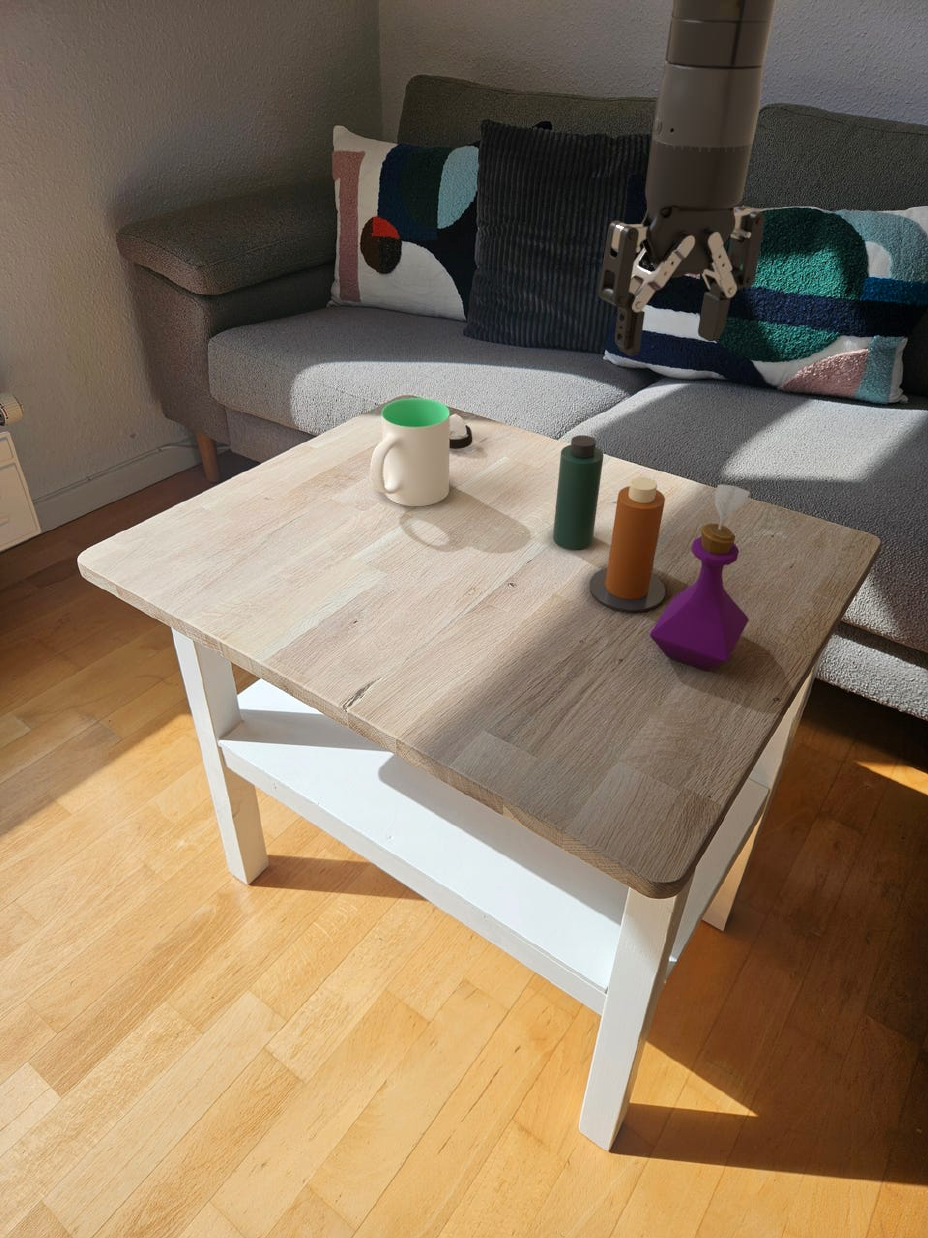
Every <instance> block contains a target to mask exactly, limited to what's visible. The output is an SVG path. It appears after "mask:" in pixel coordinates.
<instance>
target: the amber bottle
mask: <svg viewBox="0 0 928 1238" xmlns="http://www.w3.org/2000/svg"><path fill="white" fill-rule="evenodd" d="M657 488H658V483H657V482H656V480H654V479H652V478H649V477H645V476H637V477H634V478H632V479H631V480H630V482H629V485H627V486H625V487H623V488H621V489H620V490H619V491H618V495H617V499H616V505H615V506H616V507H615V513H614V521H613V527H612V535H611V539H610V546H609V547H610V548H609V555H608V561H607V567H608V568H607V567H606V568H607V575H606V582H605V586H606V589H607V590H608V591H609V592H610V593H611V594H612V595H614V596H616V597H619V598H623V599H638V598H641V597H643V596H645V595H646V594H647V592H648V590H649V585H650V579H651V574H653V567H654V562H655V556H656V551H657V546H658V540H659V535H660V531H661V524H662V518H663V513H664V508H665V503H666V498H665V495H664V494H663V493H662V492H661V491H660V490H658V489H657Z"/></svg>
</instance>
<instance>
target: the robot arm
mask: <svg viewBox="0 0 928 1238" xmlns="http://www.w3.org/2000/svg"><path fill="white" fill-rule="evenodd" d="M776 2H777V0H672V7H671V13H670V16H671V17H670V22H669V29H668V37H667V43H666V44H667V45H666V52H665V62H664V65H663V71H662V75H661V79H660V83H659V87H658V92H657V97H656V102H655V109H654V115H653V116H654V118H653V124H652V131H651V132H652V133H651V140H650V146H649V147H650V148H649V157H648V164H647V172H646V180H645V188H644V197H645V200H646V212H645V215H644V217H643V220H642V221H641V223H635V224H631V223H630V224H627V223H625V222H622V221H619V220H613V221H612V222H611V223H610V224H609V225H608V228H607V235H606V240H605V248H604V255H603V261H602V267H601V273H600V281H599V286H598V296H599V298H600V299H602V300H605V301H606V302H608V303H610V304H611V305H613V306H615V307H617V315H616V317H617V318H616V323H615V332H614V343H615V345H616V346H617V347H618V350H619V351H620V352H622V353H624V354H625V355H627V356H629V357H631V356H637V355H638V354H639V353H640V349H641V342H642V335H643V328H644V320H645V314H646V311H644V308H645V307H646V305H647V304H648V303H649V301H650V300H651V298H652V297H653V295H654V294H655V293H656V292H657V291H660V290H662V288H664V287H665V286H666V284H667V282H668V281H669V280H670V278H672V279H676V278H677V279H678V278H682V277H683V276H686V275H688V274H691V275H694V276H695V275H696V276H697V275H701V276H702V278H703V280H704V282H705V285H706V287H707V289H708V290H709V291H708V292H707V291H706V292H704V293H703V300H702V304H701V310H700V316H699V322H698V327H697V335H698V336H699V337H700V338H702V339H703V340H706V341H707V342H710V343H711V342H715V341H718V340H720V338H721V334H722V333H723V332H724V330H725V328H726V322H727V318H728V312H729V309H730V308H729V307H730V302H731V298H733V297H734V296H735V295H736V293H737V291H738V290H740V289H742V288H746V289H748V288H751V287H752V286H753V285H754V283H755V280H756V277H757V270H758V263H759V256H760V251H761V245H762V239H763V235H764V227H765V221H766V216H765V214H764V213H763V212H760V211H757V210H754V209H751V208H748V207H745V206H739V207H737V206H738V205H739V204H741V202H742V199H743V198H744V197H743V196H744V190H745V187H746V180H747V175H748V170H749V166H750V165H749V164H750V160H751V154H752V149H753V144H754V139H755V133H756V129H757V123H758V119H759V112H760V108H761V101H762V87H763V76H764V70H765V69H764V68H765V66H764V65H765V62H766V58H767V52H768V48H769V47H768V46H769V42H770V37H771V31H772V28H773V20H774V15H775V10H776V4H777V3H776ZM735 207H737V208H736V209H735ZM729 238H730V239H729ZM728 240H729V246H728V253H727V252H726V249H725V247H724V245H725V244H726V243H727V241H728ZM641 244H642V245H643V248H641V246H640V245H641ZM636 253H637V254H638V253H639V254H638V255H637V257H636ZM651 265H652V267H653V268H654V270H652V271H650V270H648V269H649V268H650V267H651Z"/></svg>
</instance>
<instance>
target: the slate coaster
mask: <svg viewBox="0 0 928 1238" xmlns="http://www.w3.org/2000/svg"><path fill="white" fill-rule="evenodd" d="M607 568H608V566H607V567H605V568H604V567H603V568H602V569H599V570H598V571H596V572H595V573H594V574H593V575H592V576H591V578H590V580H589V584H588V589H589V592H590V594H591V596H592V597H593V598H594V599H595V600H596V601H597V602H598V603H600V604H601V605H603V606H605V607H607V608H609V609H612V610H614V611H618V612H624V613H643V612H644V613H645V612H648V611H651V610H654V609H655V608H657V607H659V606H660V605H661V604H662V603H663V601H664V599H665V596H666V587H665V585H664V583H663V582H662V580H661V579H660V578H658V577H657V576H656V575H655V574H653V573H652V574H651V579H650V585H649V590H648V592H647V594H646V595H645V596H643V597H641V598H638V599H623V598H619V597H616V596H614V595H612V594H611V593H610V592H609V591H608V590H607V589H606V586H605V582H606V575H607Z"/></svg>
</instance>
